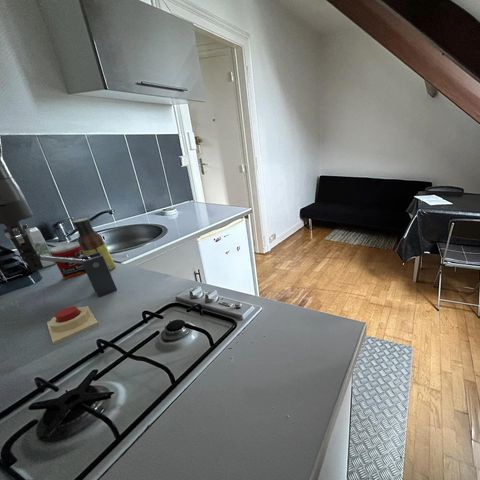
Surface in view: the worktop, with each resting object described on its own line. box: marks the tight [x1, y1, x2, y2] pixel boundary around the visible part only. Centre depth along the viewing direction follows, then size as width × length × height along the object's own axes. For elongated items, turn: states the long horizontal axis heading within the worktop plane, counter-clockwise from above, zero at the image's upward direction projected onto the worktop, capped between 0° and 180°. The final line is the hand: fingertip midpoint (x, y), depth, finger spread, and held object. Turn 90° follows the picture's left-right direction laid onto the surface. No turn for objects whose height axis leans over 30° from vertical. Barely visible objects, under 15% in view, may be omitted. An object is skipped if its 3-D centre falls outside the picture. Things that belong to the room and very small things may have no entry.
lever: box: [20, 252, 94, 264], centre depth 69 cm, size 15×3×3 cm, turn 139°
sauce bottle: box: [72, 217, 116, 272], centre depth 87 cm, size 6×6×20 cm
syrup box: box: [29, 226, 57, 269], centre depth 97 cm, size 6×6×14 cm
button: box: [54, 305, 80, 323], centre depth 62 cm, size 4×4×2 cm
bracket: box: [79, 252, 118, 298], centre depth 75 cm, size 11×9×13 cm
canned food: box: [49, 241, 87, 281], centre depth 89 cm, size 8×8×11 cm
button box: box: [46, 305, 100, 345], centre depth 63 cm, size 11×8×4 cm
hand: (36, 267), depth 65 cm, fingers closed on lever, 3 cm apart
